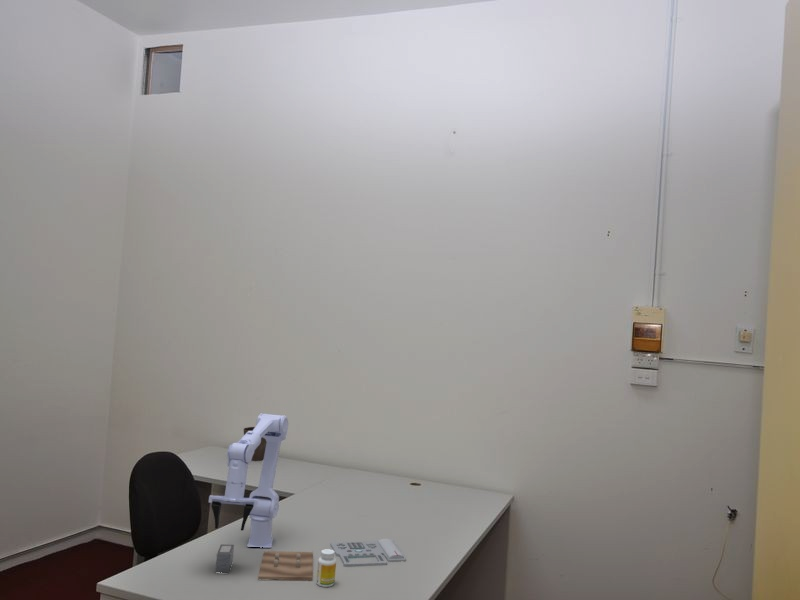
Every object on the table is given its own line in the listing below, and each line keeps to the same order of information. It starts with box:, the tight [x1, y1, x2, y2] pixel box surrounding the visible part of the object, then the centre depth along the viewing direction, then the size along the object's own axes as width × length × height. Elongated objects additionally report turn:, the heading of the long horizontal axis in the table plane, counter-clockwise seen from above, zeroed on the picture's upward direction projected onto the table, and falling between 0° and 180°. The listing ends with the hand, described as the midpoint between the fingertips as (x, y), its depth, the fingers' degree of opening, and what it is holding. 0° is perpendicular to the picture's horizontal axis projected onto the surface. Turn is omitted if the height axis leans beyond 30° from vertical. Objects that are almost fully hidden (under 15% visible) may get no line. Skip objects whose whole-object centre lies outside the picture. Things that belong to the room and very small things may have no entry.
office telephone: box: [329, 538, 407, 568], centre depth 214 cm, size 23×3×20 cm
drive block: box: [215, 543, 235, 574], centre depth 194 cm, size 8×4×6 cm, turn 8°
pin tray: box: [257, 550, 314, 582], centre depth 199 cm, size 20×16×3 cm
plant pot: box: [243, 426, 267, 462], centre depth 336 cm, size 15×15×16 cm
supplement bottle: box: [316, 548, 337, 588], centre depth 188 cm, size 5×5×10 cm
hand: (229, 528), depth 192 cm, fingers open, 7 cm apart
